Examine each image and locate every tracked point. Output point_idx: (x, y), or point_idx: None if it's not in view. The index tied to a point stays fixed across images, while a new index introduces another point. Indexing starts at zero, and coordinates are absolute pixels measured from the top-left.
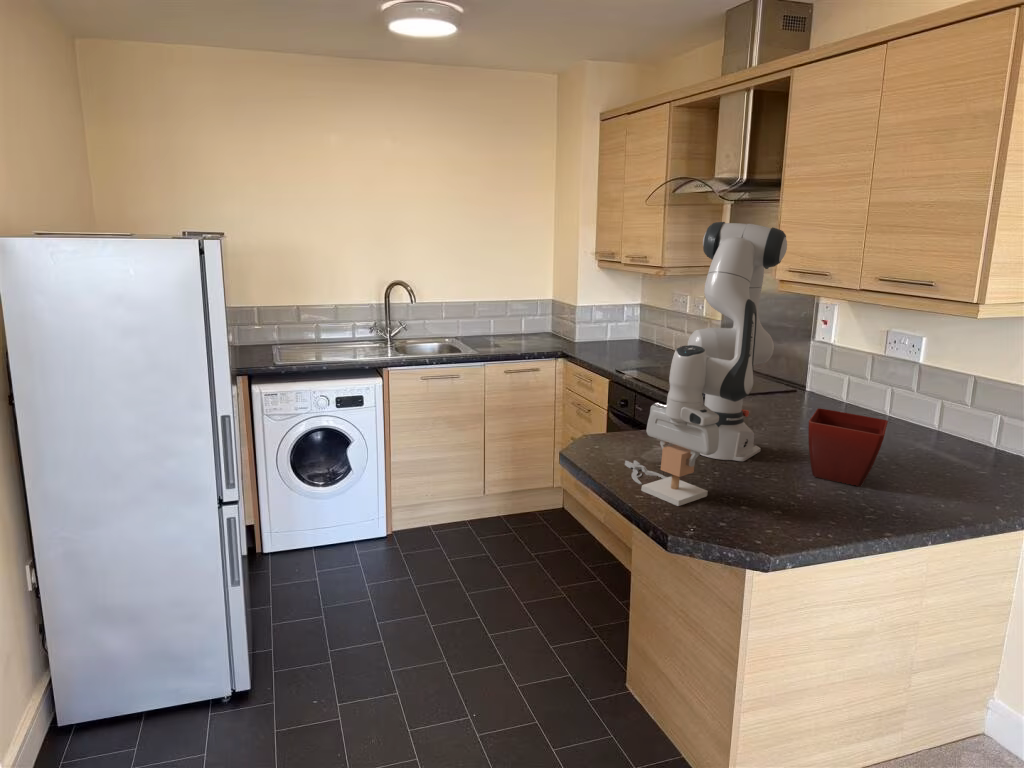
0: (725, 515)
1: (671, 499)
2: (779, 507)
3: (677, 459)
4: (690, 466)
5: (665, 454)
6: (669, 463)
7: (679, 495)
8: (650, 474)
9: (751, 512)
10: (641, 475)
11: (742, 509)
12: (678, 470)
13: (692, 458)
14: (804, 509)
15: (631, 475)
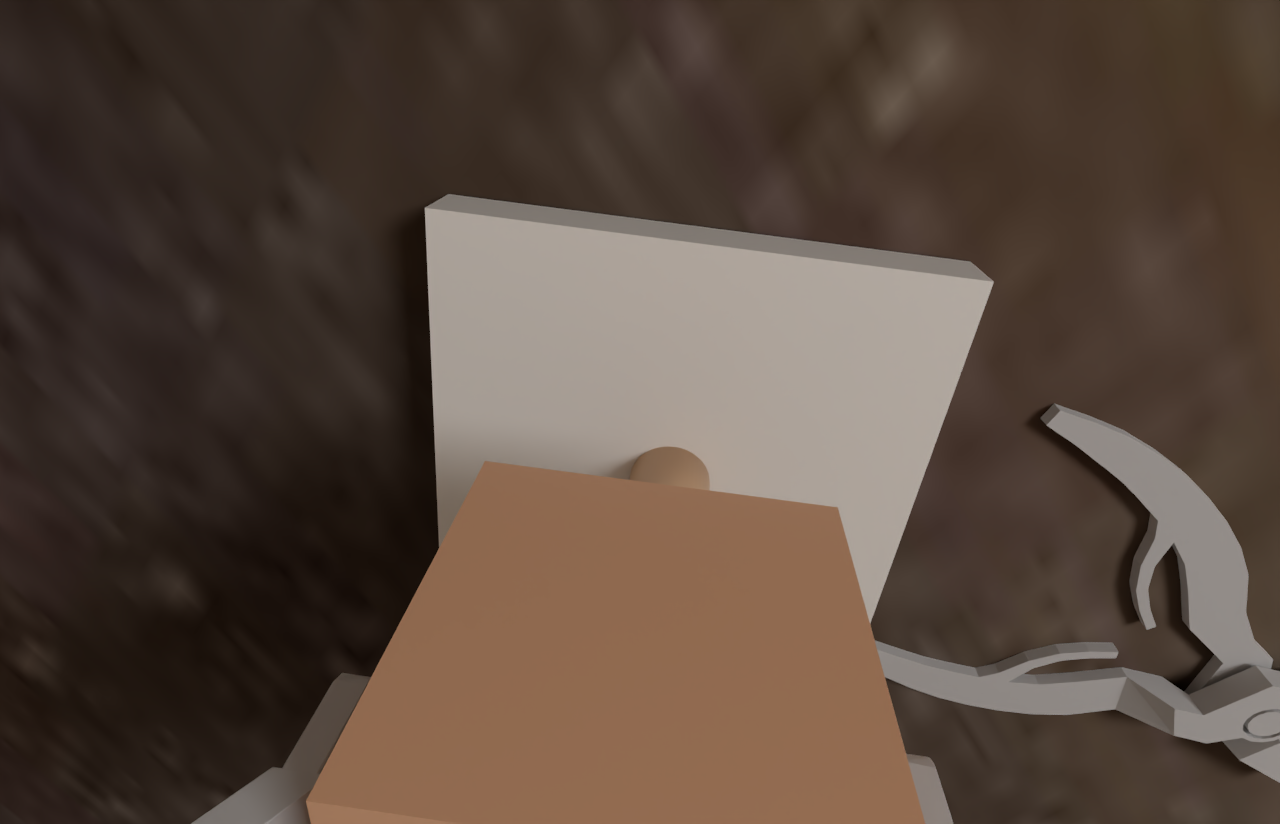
0: (96, 354)
1: (531, 215)
2: (91, 722)
3: (473, 672)
4: (347, 674)
5: (808, 735)
6: (677, 591)
7: (516, 347)
8: (1058, 653)
9: (80, 547)
10: (1132, 598)
11: (148, 550)
12: (483, 519)
13: (221, 810)
14: (21, 776)
15: (1231, 536)
